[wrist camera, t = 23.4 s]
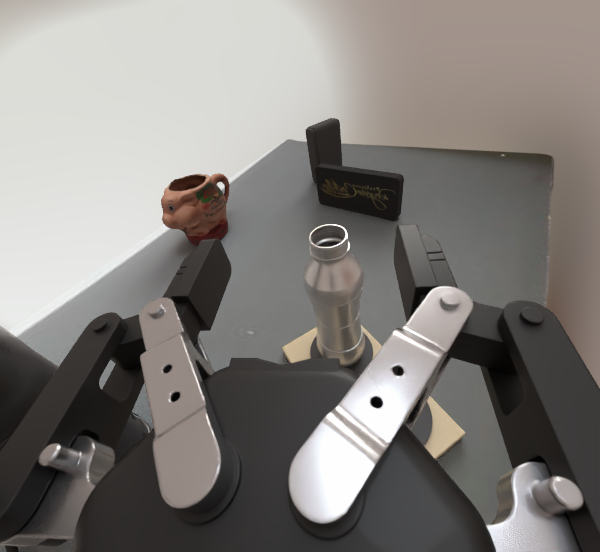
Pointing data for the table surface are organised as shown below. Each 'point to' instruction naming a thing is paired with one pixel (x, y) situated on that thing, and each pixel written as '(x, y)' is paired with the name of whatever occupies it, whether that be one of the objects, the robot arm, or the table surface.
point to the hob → (432, 420)
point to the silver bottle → (335, 294)
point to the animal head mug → (197, 207)
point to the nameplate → (360, 190)
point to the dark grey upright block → (324, 144)
